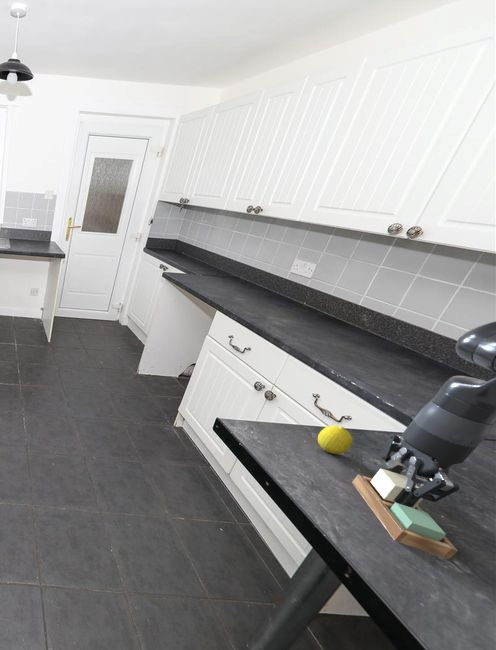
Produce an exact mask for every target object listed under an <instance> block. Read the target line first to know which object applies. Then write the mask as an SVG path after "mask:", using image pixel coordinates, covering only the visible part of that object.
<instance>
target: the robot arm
mask: <svg viewBox="0 0 496 650" xmlns="http://www.w3.org/2000/svg"><path fill="white" fill-rule="evenodd" d="M454 350H455V352H456V354H457V356H459V357H460V358H461V359H463V361H464V360H465V361H466V362H468V363H471V364H473V365H475V366H478V367H480V368H483V369H485V370H488V371H490V372H492V373H494V374H496V320H495V321H490V322H489V323H484V324H482V325H481V324H480V325H478V326H476V327H474V328H472V329H469V330H468V331H466V332H465V333H464V334H462V335H461V336H460V337H459V338H458V339H457V341H456V343H455V346H454ZM495 424H496V376H494V377H493V378H491V379H489V380H483V379H479V378H475V377H471V376H467V375H454V376H451V377H449V378H448V379H447V380H445V381H444V383H443V384H442V385H441V387H440V388H438V390H437V392H436V393H435V394H434V396H433V397H432V398H431V399H430V400H429V401H428V402H427V403H426V404H425V405H424V406H422V408H421V409H420V410H419V412H418V413H417V414H416V416H415V417H414V418H413V419H412V421H410V423H409V424H408V425H407V427H406V428H405V430H403V432H402V434H401V435H398V434H393V433H390V434H389V436H388V438H387V440H386V443H385V446H384V448H383V450H382V452H381V455H380V459H381V461H384V467H385V468H384V470H388V471H391V472H394V473H398V474H401V475H403V474H404V473H405V476H406V478H408V480H407V483H406V486H405V488H403V490H402V491H401V492H400V493H399V494H398V495H397V497H396V498H395V499H394V501H395V502H396V503H399V504H402V505H405V506H408V507H413V506H414V504H416V503H417V501H418V500H419V499H420V498H422V500H426V501H429V502H432V503H437V502H438V501H440V500H442V499H444V498H446V497H448V496H449V495H452V494H453V493H455V492H457V491H459V490H460V485H459V484H458V483H456V482H453V481H451V480H450V479H449V477H448V474H449V471H450V468H451V466H454V465H459V464H462V463H464V462H465V461H466V459H467V458H469V457H470V456H471V454H472V453H473V452H475V450H476V449H477V447H479V445H480V444H481V443H482V442H483V441H484V440H485V439H486V437H487V436H488V435H489V433H490V432H491V431H492V428H493V427H494V425H495ZM392 453H393V454H392ZM394 453H395V454H394ZM391 454H392V455H391ZM416 484H417V485H418V484H420V485H419V488H416V487H415V486H416Z"/></svg>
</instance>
